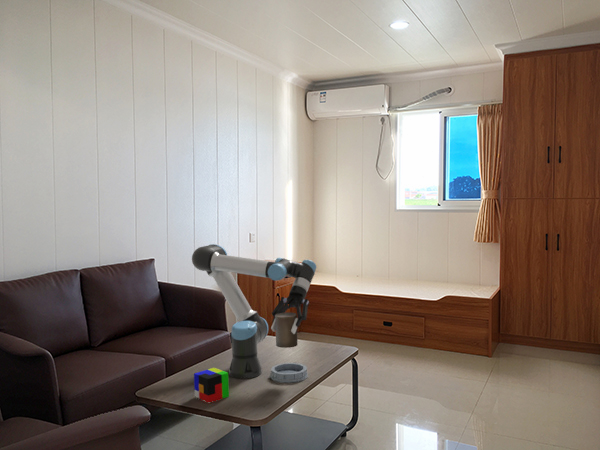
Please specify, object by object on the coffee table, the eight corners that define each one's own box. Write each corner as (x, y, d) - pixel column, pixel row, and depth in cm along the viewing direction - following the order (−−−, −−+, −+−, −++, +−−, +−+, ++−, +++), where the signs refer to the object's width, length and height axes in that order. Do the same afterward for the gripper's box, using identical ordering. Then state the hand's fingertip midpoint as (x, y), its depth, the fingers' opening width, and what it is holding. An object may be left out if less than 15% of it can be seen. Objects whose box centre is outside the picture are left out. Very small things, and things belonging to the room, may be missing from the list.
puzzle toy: (194, 397, 210) (193, 373, 210) (214, 390, 217) (214, 367, 217) (208, 403, 203) (207, 379, 203) (229, 396, 210) (228, 372, 210)
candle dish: (263, 379, 229) (263, 371, 229) (281, 368, 244) (281, 360, 244) (297, 385, 221) (297, 376, 221) (314, 372, 236) (313, 365, 236)
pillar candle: (301, 345, 225) (301, 311, 225) (283, 349, 220) (282, 314, 219) (289, 341, 234) (289, 308, 233) (271, 344, 228) (270, 311, 228)
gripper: (323, 295, 234) (307, 338, 221) (282, 292, 245) (264, 333, 232) (318, 286, 229) (301, 329, 216) (276, 283, 240) (258, 324, 227)
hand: (282, 331), depth 224 cm, fingers closed on pillar candle, 9 cm apart
